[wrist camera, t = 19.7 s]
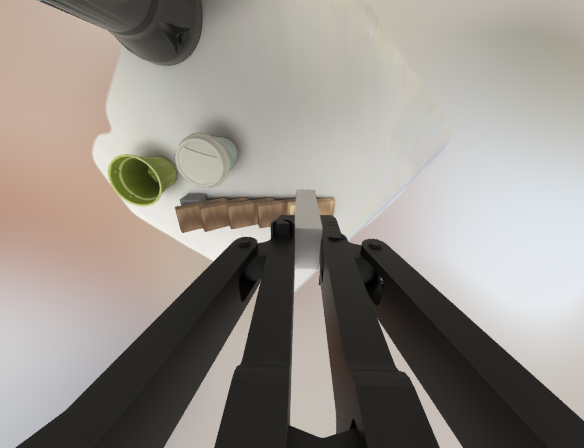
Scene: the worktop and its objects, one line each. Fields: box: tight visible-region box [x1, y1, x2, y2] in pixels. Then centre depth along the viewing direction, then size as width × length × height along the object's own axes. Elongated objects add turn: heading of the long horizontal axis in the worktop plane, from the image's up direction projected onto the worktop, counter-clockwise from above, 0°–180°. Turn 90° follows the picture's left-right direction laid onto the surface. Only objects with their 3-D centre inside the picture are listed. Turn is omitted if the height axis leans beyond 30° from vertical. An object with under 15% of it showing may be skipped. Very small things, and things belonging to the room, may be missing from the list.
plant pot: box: [108, 154, 177, 206], centre depth 42 cm, size 9×9×9 cm
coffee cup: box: [175, 133, 238, 188], centre depth 38 cm, size 8×8×12 cm
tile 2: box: [256, 198, 296, 228], centre depth 46 cm, size 5×2×10 cm
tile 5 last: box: [175, 198, 227, 233], centre depth 45 cm, size 5×2×10 cm
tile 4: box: [198, 197, 248, 232], centre depth 45 cm, size 5×2×10 cm
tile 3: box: [226, 197, 275, 229], centre depth 46 cm, size 5×2×10 cm
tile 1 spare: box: [288, 198, 335, 216], centre depth 46 cm, size 5×2×10 cm
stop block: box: [180, 194, 207, 206], centre depth 47 cm, size 6×4×4 cm, turn 0°
